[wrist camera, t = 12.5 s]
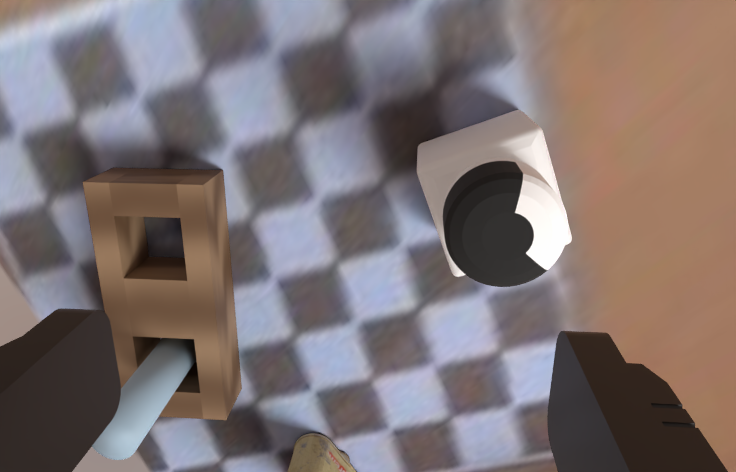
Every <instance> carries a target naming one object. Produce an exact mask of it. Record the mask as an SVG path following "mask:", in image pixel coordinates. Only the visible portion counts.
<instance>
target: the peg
mask: <svg viewBox="0 0 736 472" xmlns="http://www.w3.org/2000/svg"><path fill="white" fill-rule="evenodd" d="M195 361H196V351H195V343H194V339H179V338H162V339H161V341H160V342H159V343H158V344H157V346H156V347H155V348H154V349H153V350H152V352H151V353H150V354H149V355H148V356H147V358H146V359H145V360H144V361H143V363H142V364H141V365H140V366H139V367H138V369H137V370H136V371H135V372H134V374H133V375H132V376H131V377H130V378H129V380H128V381H127V382H126V383H125V385H124V386H123V387H122V388H121V396H120V402H119V406H118V409H117V412H116V414H115V416H114V418H113V419H112V421H111V422H110V423H109V425H108V426H107V427H106V429H105V430H104V431H103V432H102V434H101V435H100V436H99V438H98V439H97V440H96V441H95V443H94V444H93V445H92V447H93V448H94V449H95V450H96V451H97V452H98V453H99V454H101V455H102V456H104V457H106V458H109V459H114V460H123V459H126V458H129V457H130V456H132V455H133V454H134V452H135V451H136V449H137V448H138V446H139V445H140V443H141V442H142V440H143V439H144V437H145V436H146V434H147V433H148V431H149V430H150V428H151V427H152V425H153V424H154V422H155V421H156V419H157V418H158V416H159V415H160V413H161V412H162V410H163V409H164V407H165V406H166V404H167V403H168V401H169V400H170V398H171V397H172V395H173V394H174V392H175V391H176V389H177V388H178V386H179V385H180V383H181V382H182V380H183V379H184V377H185V376H186V374H187V373H188V371H189V370H190V369H191V367H192V366H193V364H194V363H195Z"/></svg>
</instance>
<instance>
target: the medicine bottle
mask: <svg viewBox="0 0 736 472" xmlns="http://www.w3.org/2000/svg"><path fill="white" fill-rule="evenodd" d="M417 175H418V178H419V180H420V183H421V186H422V189H423V192H424V195H425V198H426V200H427V203H428V206H429V209H430V212H431V215H432V218H433V220H434V223H435V226H436V229H437V232H438V235H439V238H440V240H441V243H442V246H443V249H444V252H445V255H446V257H447V260H448V263H449V266H450V269H451V272H452V273H453V275H454V276H456V277H459V276H463V275H467V276H468V277H470V278H472V279H474V280H475V281H477V282H480V283H483V284H486V285H491V286H498V287H510V286H516V285H520V284H524V283H527V282H529V281H531V280H534V279H535V278H537V277H539V276H541V275H542V274H543V273H545V272H546V271H547V270H548V269H549V268H550V267H551V266H552V265H553V264H554V263H555V262H556V260H557V259H558V258H559V256H560V254H561V252H562V251H563V248H564V246H565V245H567V244H569V243H570V242H571V241H572V236H571V232H570V228H569V225H568V219H567V214H566V210H565V208H564V206H563V203H562V199H561V196H560V192H559V189H558V185H557V181H556V178H555V174H554V170H553V167H552V163H551V160H550V156H549V152H548V149H547V145H546V141H545V138H544V134H543V131H542V129H541V128H540V127H539V126H538V125H537V124H536V123H535V122H533V121H532V120H531V119H530V118H529V117H528V116H527V115H526V114H524V113H523V112H522V111H520V110H515V111H512V112H509V113H506V114H504V115H501V116H498V117H495V118H492V119H489V120H486V121H484V122H481V123H478V124H475V125H472V126H469V127H466V128H463V129H461V130H458V131H455V132H452V133H449V134H446V135H443V136H440V137H438V138H435V139H432V140H429V141H426V142H423V143H421V144H419V146H418V150H417Z"/></svg>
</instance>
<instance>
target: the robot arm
mask: <svg viewBox="0 0 736 472" xmlns="http://www.w3.org/2000/svg"><path fill="white" fill-rule="evenodd" d="M120 396H121V383H120V377H119V371H118V365H117V359H116V353H115V347H114V341H113V335H112V329H111V324H110V320H109V318H108V316H107V314H106V313H105V312H103V311H101V310H84V309H58V310H56V311H54V312H53V313H51V314H50V315H49V316H47V317H46V318H45V319H44V320H42V321H41V322H40V323H39V324H37V325H36V326H35V327H34V328H32V329H31V330H30V331H28V332H27V333H26V334H25V335H24V336H22V337H19V338H17V339H15V340H13V341H11V342H9V343H7V344H5V345H3V346H1V347H0V472H72V471H73V470H74V468H75V467H76V465H77V464H78V463H79V462H80V461H81V459H82V458H83V457H84V456H85V454H86V453H87V452H88V450H89V449H90V448H91V447H92V445H93V444H94V443H95V441H96V440H97V439H98V438H99V436H100V435H101V434H102V432H103V431H104V430H105V429H106V427H107V426H108V425H109V423H110V422H111V421H112V419H113V418H114V416H115V414H116V412H117V409H118V406H119V402H120ZM548 435H549V441H550V446H551V449H552V453H553V456H554V459H555V463H556V466H557V469H558V472H728V471H727V470H726V468H725V467H724V465H723V464H722V462H721V461H720V459H719V458H718V457H717V455H716V454H715V452H714V451H713V449H712V448H711V446H710V445H709V443H708V442H707V440H706V439H705V437H704V436H703V435H702V433H701V432H700V430H699V429H698V428H695V423H694V421H693V420H692V418H691V417H690V415H689V414H688V413H687V411H686V410H685V409H682V404H681V402H680V401H679V399H678V398H677V396H676V395H675V393H674V392H673V391H672V389H671V388H670V386H669V385H668V383H667V382H665V381H664V380H663V379H661V378H660V377H659V376H657V375H656V374H655V373H653V372H652V371H650V370H649V369H648V368H646V367H645V366H644V365H642V364H632V363H626V362H625V360H624V358H623V357H622V355H621V353H620V352H619V350H618V348H617V347H616V345H615V343H614V342H613V340H612V338H611V337H610V335H609V334H607V333H598V332H575V331H561V332H560V333H559V335H558V338H557V343H556V350H555V358H554V366H553V373H552V381H551V389H550V397H549V405H548Z"/></svg>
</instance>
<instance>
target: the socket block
mask: <svg viewBox="0 0 736 472" xmlns="http://www.w3.org/2000/svg"><path fill="white" fill-rule="evenodd" d="M83 187H84V193H85V199H86V204H87V210H88V216H89V222H90V228H91V234H92V240H93V245H94V251H95V257H96V263H97V269H98V275H99V280H100V286H101V292H102V298H103V304H104V310H105V313H106V314H107V316H108V318H109V320H110V324H111V329H112V335H113V341H114V347H115V353H116V359H117V365H118V371H119V377H120V383H121V388H122V387H123V386H124V385H125V383H126V382H127V381H128V380H129V378H130V377H131V376H132V375H133V374H134V372H135V371H136V370H137V369H138V367H139V366H140V365H141V364H142V363H143V361H144V360H145V359H146V358H147V356H148V355H149V354H150V353H151V352H152V350H153V349H154V348H155V347H156V346H157V344H158V343H159V342H160V341H161V340H160V338H179V339H194V343H195V351H196V360H197V362H195V363H194V364H193V366H192V367H191V369H190V370H189V371H188V373H187V374H186V376H185V377H184V379H183V380H182V382H181V383H180V385H179V386H178V388H177V389H176V391H175V392H174V394H173V395H172V397H171V398H170V400H169V401H168V403H167V404H166V406H165V407H164V409H163V410H162V412H161V413H160V415H159V416H162V417H180V418H197V419H214V420H227V418H228V415H229V413H230V411H231V409H232V407H233V405H234V403H235V401H236V399H237V397H238V395H239V393H240V391H241V389H242V386H241V374H240V363H239V351H238V339H237V328H236V316H235V304H234V292H233V281H232V269H231V257H230V246H229V234H228V222H227V211H226V199H225V187H224V175H223V170H193V169H149V168H111V169H109V170H107V171H105V172H103V173H101V174H99V175H97V176H95V177H92V178H90V179H88V180H86V181H84V182H83ZM144 217H168V218H180V220H181V229H182V238H183V246H184V255H185V258H177V257H149V253H148V245H147V238H146V231H145V224H144Z"/></svg>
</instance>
